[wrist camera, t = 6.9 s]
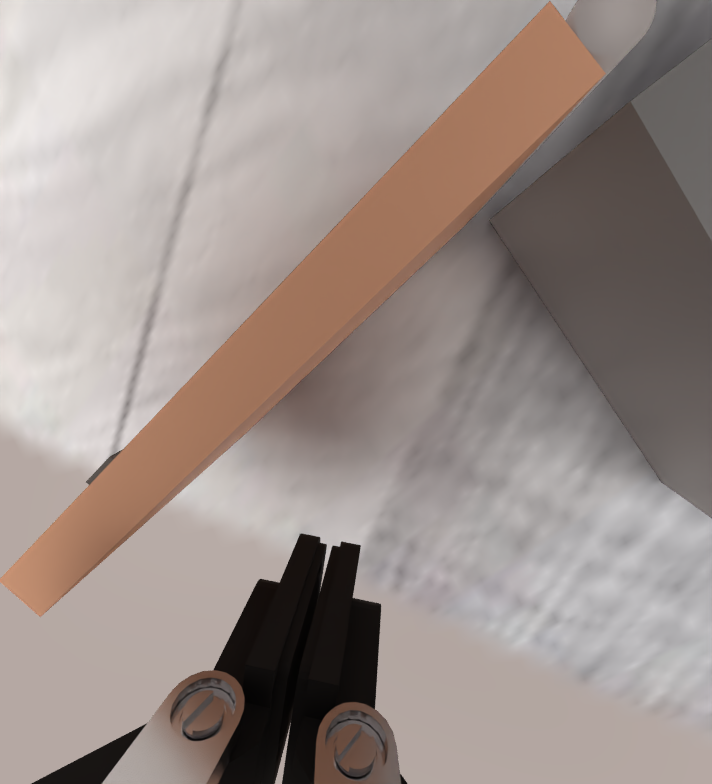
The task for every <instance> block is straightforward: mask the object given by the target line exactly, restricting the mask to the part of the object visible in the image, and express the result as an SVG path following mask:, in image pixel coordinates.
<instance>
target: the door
mask: <svg viewBox="0 0 712 784" xmlns="http://www.w3.org/2000/svg"><path fill="white" fill-rule="evenodd" d="M656 5H657V0H578V1H577V2H576V4H575V6H574V7H573V9H572V11H571V12H570V14H569V16H568V17H567V19H566V20H564V19H563V17H562V16H561V15H560V13H559V12H558V11H557V10H556V8H555V7H554V6H553V4H552V3H551V2H550V1H549V2H548V3H547V4H546V6H545V7H544V8H543V9H542V10H541V11H540V12H539V13H538V14H537V15H536V16H535V17H534V18H533V19H532V20H531V21H530V22H529V23H528V24H527V26H526V27H525V28H524V29H523V30H522V31H521V32H520V33H519V34H518V35H517V36H516V37H515V38H514V39H513V40H512V41H511V42H510V43H509V44H508V45H507V47H506V48H505V49H504V50H503V51H502V52H501V53H500V54H499V55H498V56H497V57H496V58H495V59H494V60H493V61H492V62H491V63H490V64H489V65H488V66H487V68H486V69H485V70H484V71H483V72H482V73H481V74H480V75H479V76H478V77H477V78H476V79H475V80H474V81H473V82H472V83H471V84H470V85H469V86H468V88H467V89H466V90H465V91H464V92H463V93H462V94H461V95H460V96H459V97H458V98H457V99H456V100H455V101H454V102H453V103H452V104H451V105H450V106H449V107H448V109H447V110H446V111H445V112H444V113H443V114H442V115H441V116H440V117H439V118H438V119H437V120H436V121H435V122H434V123H433V124H432V125H431V126H430V127H429V129H428V130H427V131H426V132H425V133H424V134H423V135H422V136H421V137H420V138H419V139H418V140H417V141H416V142H415V143H414V144H413V145H412V146H411V147H410V148H409V150H408V151H407V152H406V153H405V154H404V155H403V156H402V157H401V158H400V159H399V160H398V161H397V162H396V163H395V164H394V165H393V166H392V167H391V168H390V170H389V171H388V172H387V173H386V174H385V175H384V176H383V177H382V178H381V179H380V180H379V181H378V182H377V183H376V184H375V185H374V186H373V187H372V188H371V189H370V191H369V192H368V193H367V194H366V195H365V196H364V197H363V198H362V199H361V200H360V201H359V202H358V203H357V204H356V205H355V206H354V207H353V208H352V209H351V211H350V212H349V213H348V214H347V215H346V216H345V217H344V218H343V219H342V220H341V221H340V222H339V223H338V224H337V225H336V226H335V227H334V228H333V229H332V230H331V232H330V233H329V234H328V235H327V236H326V237H325V238H324V239H323V240H322V241H321V242H320V243H319V244H318V245H317V246H316V247H315V248H314V249H313V250H312V252H311V253H310V254H309V255H308V256H307V257H306V258H305V259H304V260H303V261H302V262H301V263H300V264H299V265H298V266H297V267H296V268H295V269H294V270H293V271H292V273H291V274H290V275H289V276H288V277H287V278H286V279H285V280H284V281H283V282H282V283H281V284H280V285H279V286H278V287H277V288H276V289H275V290H274V291H273V293H272V294H271V295H270V296H269V297H268V298H267V299H266V300H265V301H264V302H263V303H262V304H261V305H260V306H259V307H258V308H257V309H256V310H255V311H254V312H253V314H252V315H251V316H250V317H249V318H248V319H247V320H246V321H245V322H244V323H243V324H242V325H241V326H240V327H239V328H238V329H237V330H236V331H235V332H234V334H233V335H232V336H231V337H230V338H229V339H228V340H227V341H226V342H225V343H224V344H223V345H222V346H221V347H220V348H219V349H218V350H217V351H216V352H215V353H214V355H213V356H212V357H211V358H210V359H209V360H208V361H207V362H206V363H205V364H204V365H203V366H202V367H201V368H200V369H199V370H198V371H197V372H196V373H195V375H194V376H193V377H192V378H191V379H190V380H189V381H188V382H187V383H186V384H185V385H184V386H183V387H182V388H181V389H180V390H179V391H178V392H177V393H176V394H175V396H174V397H173V398H172V399H171V400H170V401H169V402H168V403H167V404H166V405H165V406H164V407H163V408H162V409H161V410H160V411H159V412H158V413H157V414H156V416H155V417H154V418H153V419H152V420H151V421H150V422H149V423H148V424H147V425H146V426H145V427H144V428H143V429H142V430H141V431H140V432H139V433H138V434H137V435H136V437H135V438H134V439H133V440H132V441H131V442H130V443H129V444H128V445H127V446H126V447H125V448H124V449H123V450H121V451H119V452H117V453H116V454H114V455H112V456H110V457H109V458H108V459H107V460H106V461H105V462H104V463H103V464H102V466H101V467H100V468H99V469H98V470H97V471H96V472H95V473H94V474H93V475H92V476H91V477H90V478H89V479H88V480H87V481H86V482H87V483H88V484H89V486H88V487H87V488H86V489H85V490H84V491H83V492H82V493H81V494H80V495H79V496H78V498H77V499H76V500H75V501H74V502H73V503H72V504H71V505H70V506H69V507H68V508H67V509H66V510H65V511H64V512H63V513H62V514H61V515H60V517H58V519H57V520H56V521H55V522H54V523H53V524H52V525H51V526H50V527H49V528H48V529H47V530H46V531H45V532H44V533H43V534H42V535H41V536H40V537H39V538H38V540H37V541H36V542H35V543H34V544H33V545H32V546H31V547H30V548H29V549H28V550H27V551H26V552H25V553H24V554H23V555H22V556H21V558H19V560H18V561H17V562H16V563H15V564H14V565H13V566H12V567H11V568H10V569H9V570H8V571H7V572H6V573H5V574H4V575H3V576H2V577H1V578H0V582H1V583H2V584H3V585H4V586H5V587H7V588H8V589H9V590H10V591H11V592H12V593H13V594H15V595H16V596H17V597H18V598H19V599H21V601H23V602H24V603H25V604H26V605H27V606H28V607H29V608H31V609H32V610H33V611H34V612H35V613H36V614H37V615H39V616H42V615H43V614H44V613H45V612H46V611H48V610H49V609H50V608H51V607H52V606H53V605H54V604H55V603H56V602H58V601H59V600H60V599H61V598H62V597H63V596H64V595H65V594H67V593H68V592H69V591H70V590H71V589H72V588H73V587H74V586H75V585H77V584H78V583H79V582H80V581H81V580H82V579H83V578H84V577H86V576H87V575H88V574H89V573H90V572H91V571H92V570H93V569H95V568H96V567H97V566H98V565H99V564H100V563H101V562H102V561H103V560H105V559H106V558H107V557H108V556H109V555H110V554H111V553H112V552H114V551H115V550H116V549H117V548H118V547H119V546H120V545H121V544H122V543H124V542H125V541H126V540H127V539H128V538H129V537H130V536H131V535H133V534H134V533H135V532H136V531H137V530H138V529H139V528H140V527H142V526H143V525H144V524H145V523H146V522H147V521H148V520H149V519H150V518H152V517H153V516H154V515H155V514H156V513H157V512H158V511H159V510H161V509H162V508H163V507H164V506H165V505H166V504H167V503H168V502H170V501H171V500H172V499H173V498H174V497H175V496H176V495H177V494H178V493H180V492H181V491H182V490H183V489H184V488H185V487H186V486H187V485H189V484H190V483H191V482H192V481H193V480H194V479H195V478H196V477H197V476H199V475H200V474H201V473H202V472H203V471H204V470H205V469H206V468H208V467H209V466H210V465H211V464H212V463H213V462H214V461H215V460H217V459H218V458H219V457H220V456H221V455H222V454H223V453H224V452H225V451H227V450H228V449H229V448H230V447H231V446H232V445H233V444H234V443H236V442H237V441H238V440H239V439H240V438H241V437H242V436H243V435H244V434H246V433H247V432H248V431H249V430H250V429H251V428H252V427H253V426H254V425H255V424H256V423H257V422H258V421H259V420H260V419H261V418H262V417H263V416H265V415H266V414H267V413H268V412H269V411H270V410H271V409H272V408H273V407H274V406H275V405H276V404H277V403H278V402H279V401H280V400H281V399H282V398H284V397H285V396H286V395H287V394H288V393H289V392H290V391H291V390H292V389H293V388H294V387H295V386H296V385H297V384H298V383H299V382H300V381H301V380H302V379H304V378H305V377H306V376H307V375H308V374H309V373H310V372H311V371H312V370H313V369H314V368H315V367H316V366H317V365H318V364H319V363H320V362H321V361H323V360H324V359H325V358H326V357H327V356H328V355H329V354H330V353H331V352H332V351H333V350H334V349H335V348H336V347H337V346H338V345H339V344H340V343H342V342H343V341H344V340H345V339H346V338H347V337H348V336H349V335H350V334H351V333H352V332H353V331H354V330H355V329H356V328H357V327H358V326H359V325H360V324H362V323H363V322H364V321H365V320H366V319H367V318H368V317H369V316H370V315H371V314H372V313H373V312H374V311H375V310H376V309H377V308H378V307H379V306H381V305H382V304H383V303H384V302H385V301H386V300H387V299H388V298H389V297H390V296H391V295H392V294H393V293H394V292H395V291H396V290H397V289H398V288H400V287H401V286H402V285H403V284H404V283H405V282H406V281H407V280H408V279H409V278H410V277H411V276H412V275H413V274H414V273H415V272H416V271H417V270H418V269H420V268H421V267H422V266H423V265H424V264H425V263H426V262H427V261H428V260H429V259H430V258H431V257H432V256H433V255H434V254H435V253H436V252H437V251H439V250H440V249H441V248H442V247H443V246H444V245H445V244H446V243H447V242H448V241H449V240H450V239H451V238H452V237H453V236H454V235H455V234H456V233H458V232H459V231H460V230H461V229H462V228H463V227H464V226H465V225H466V224H467V223H468V222H469V221H470V220H471V218H473V217H474V216H475V215H476V214H477V213H478V212H479V211H480V210H481V209H482V208H483V207H484V206H485V205H486V204H487V203H488V202H489V200H490V199H491V198H492V197H493V196H494V195H495V194H496V193H497V192H498V191H499V190H500V189H501V188H502V187H503V186H504V185H505V183H506V182H507V181H508V180H509V179H510V178H511V177H512V176H513V175H514V174H515V173H516V172H517V171H518V170H519V169H520V168H521V166H522V165H523V164H524V163H525V162H526V161H527V160H528V159H529V158H530V157H531V156H532V155H533V154H534V153H535V152H536V151H537V149H538V148H539V147H540V146H541V145H542V144H543V143H544V142H545V141H546V140H547V139H548V138H549V137H550V136H551V135H552V134H553V132H554V131H555V130H556V129H557V128H558V127H559V126H560V125H561V124H562V123H563V122H564V121H565V120H566V119H567V118H568V117H569V115H570V114H571V113H572V112H573V111H574V110H575V109H576V108H577V107H578V106H579V105H580V104H581V103H582V102H583V101H584V100H585V98H586V97H587V96H588V95H589V94H590V93H591V92H592V91H593V90H594V89H595V88H596V87H597V86H598V85H599V84H600V83H601V81H602V80H603V79H604V78H605V77H606V76H607V75H608V74H609V73H610V72H611V71H612V70H613V69H614V68H615V67H616V66H617V64H618V63H619V62H620V61H621V60H622V59H623V58H624V57H625V56H626V55H627V54H628V53H629V52H630V51H631V50H632V49H633V47H634V46H635V45H636V44H637V43H638V42H639V41H640V40H641V39H642V38H643V37H644V35H645V34H646V33H647V31H648V29H649V28H650V26H651V24H652V22H653V19H654V16H655V12H656Z"/></svg>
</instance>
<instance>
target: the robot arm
mask: <svg viewBox="0 0 712 784" xmlns="http://www.w3.org/2000/svg"><path fill="white" fill-rule="evenodd" d="M326 547H327V544H323V543H320V537H316V536H311V535H306V534H300V536H299V538H298V540H297V543H296V545H295V548H294V550H293V552H292V555H291V557H290V560H289V562H288V564H287V567H286V569H285V571H284V574H283V576H282V579H281V581H280V583H278V582H273V581H268V580H264V579H260V580H259V581H258V582H257V584H256V586H255V588H254V590H253V592H252V594H251V596H250V598H249V600H248V602H247V604H246V606H245V608H244V610H243V612H242V614H241V616H240V618H239V620H238V622H237V624H236V626H235V628H234V630H233V632H232V634H231V636H230V638H229V640H228V642H227V644H226V646H225V648H224V650H223V652H222V654H221V656H220V658H219V660H218V662H217V664H216V666H215V668H214V670H213V671H203V672H200V673H197V674H194V675H191V676H190V677H188V678H187V679H185V680H183V681H182V682H180V683H179V684H178V685H177V686H176V687H175V688H174V689H173V690H172V692H171V693H170V694H169V695H168V696H167V698H166V699H165V700H164V702H163V703H162V705H161V706H160V707H159V708H158V710H157V711H156V712H155V714H154V715H153V716H152V718H151V719H150V720H149V722H148V723H147V724H145V725H143V726H141V727H139V728H137V729H135V730H133V731H132V732H130V733H128V734H126V735H124V736H122V737H120V738H118V739H116V740H114V741H112V742H110V743H109V744H107V745H105V746H103V747H101V748H99V749H97V750H95V751H93V752H91V753H89V754H87V755H85V756H84V757H82V758H80V759H78V760H76V761H74V762H72V763H70V764H68V765H66V766H64V767H62V768H61V769H59V770H57V771H55V772H53V773H51V774H49V775H47V776H46V777H43V778H41V779H39V780H38V781H36V782H34V783H32V784H275V780H276V777H277V773H278V769H279V765H280V761H281V757H282V753H283V750H284V746H285V741H286V738H287V734H288V730H289V726H290V732H289V739H288V746H287V753H286V760H285V767H284V774H283V781H282V784H407V782H406V781H405V780H404V778H403V777H402V775H401V774H400V770H399V763H398V754H397V746H396V742H395V739H394V735H393V731H392V729H391V728H390V726H389V724H388V722H387V721H386V719H385V718H384V717H383V716H382V715H381V714H380V713H379V712H378V711H377V710H375V699H376V682H377V666H378V649H379V634H380V617H381V604H379V603H374V602H369V601H364V600H360V599H355V598H353V591H354V585H355V579H356V572H357V566H358V560H359V553H360V547H361V545H356V544H351V543H346V542H341V545H340V547H338V546H332V550H331V553H330V557H329V561H328V564H327V568H326V572H325V576H324V579H323V583H322V587H321V581H322V574H323V567H324V561H325V554H326ZM320 587H321V590H320ZM290 722H291V725H290Z"/></svg>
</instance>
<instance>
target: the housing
mask: <svg viewBox="0 0 712 784" xmlns="http://www.w3.org/2000/svg"><path fill="white" fill-rule="evenodd" d="M489 221H490V223H491V224H492V226H493V227H494V229H495V230H496V232H497V233H498V235H499V236H500V238H501V239H502V241H503V242H504V244H505V245H506V247H507V248H508V250H509V251H510V253H511V254H512V256H513V257H514V259H515V261H516V262H517V264H518V265H519V267H520V268H521V270H522V271H523V273H524V274H525V276H526V277H527V279H528V280H529V282H530V283H531V285H532V286H533V288H534V289H535V291H536V292H537V294H538V295H539V297H540V298H541V300H542V301H543V303H544V305H545V306H546V308H547V309H548V311H549V312H550V314H551V315H552V317H553V318H554V320H555V321H556V323H557V324H558V326H559V327H560V329H561V330H562V332H563V333H564V335H565V336H566V338H567V339H568V341H569V342H570V344H571V345H572V347H573V348H574V350H575V352H576V353H577V355H578V356H579V358H580V359H581V361H582V362H583V364H584V365H585V367H586V368H587V370H588V371H589V373H590V374H591V376H592V377H593V379H594V380H595V382H596V383H597V385H598V386H599V388H600V389H601V391H602V392H603V394H604V396H605V397H606V399H607V400H608V402H609V403H610V405H611V406H612V408H613V409H614V411H615V412H616V414H617V415H618V417H619V418H620V420H621V421H622V423H623V424H624V426H625V427H626V429H627V430H628V432H629V433H630V435H631V436H632V438H633V440H634V441H635V443H636V444H637V446H638V447H639V449H640V450H641V452H642V453H643V455H644V456H645V458H646V459H647V461H648V462H649V464H650V465H651V467H652V468H653V470H654V471H655V473H656V474H657V476H658V477H659V479H660V480H661V482H662V483H663V484H665V485H666V486H667V487H669V488H670V489H672V490H673V491H674V492H676V493H677V494H678V495H680V496H681V497H683V498H684V499H685V500H687V501H688V502H690V503H691V504H692V505H694V506H695V507H697V508H698V509H699V510H701V511H702V512H704V513H705V514H706V515H708V516H709V517H711V518H712V39H710V40H709V41H708V42H707V43H705V44H704V45H703V46H701V47H700V48H699V49H697V50H696V51H695V52H694V53H692V54H691V55H690V56H688V57H687V58H686V59H684V60H683V61H682V62H681V63H679V64H678V65H677V66H675V67H674V68H673V69H671V70H670V71H669V72H668V73H666V74H665V75H664V76H662V77H661V78H660V79H658V80H657V81H656V82H655V83H653V84H652V85H651V86H649V87H648V88H647V89H645V90H644V91H643V92H642V93H640V94H639V95H638V96H636V97H635V98H634V99H632V100H631V101H630V102H629V103H628V104H626V105H625V106H624V107H623V108H622V109H620V110H619V111H618V112H617V113H616V114H615V115H613V116H612V117H611V118H610V119H609V120H607V121H606V122H605V123H604V124H603V125H601V126H600V127H599V128H598V129H597V130H596V131H594V132H593V133H592V134H591V135H590V136H588V137H587V138H586V139H585V140H584V141H583V142H581V143H580V144H579V145H578V146H577V147H575V148H574V149H573V150H572V151H571V152H569V153H568V154H567V155H566V156H565V157H564V158H562V159H561V160H560V161H559V162H558V163H556V164H555V165H554V166H553V167H552V168H551V169H549V170H548V171H547V172H546V173H545V174H543V175H542V176H541V177H540V178H539V179H537V180H536V181H535V182H534V183H533V184H532V185H530V186H529V187H528V188H527V189H526V190H524V191H523V192H522V193H521V194H520V195H519V196H517V197H516V198H515V199H514V200H513V201H511V202H510V203H509V204H508V205H507V206H505V207H504V208H503V209H502V210H501V211H500V212H498V213H497V214H496V215H495V216H494V217H492V218H491V219H490V220H489Z"/></svg>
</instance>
